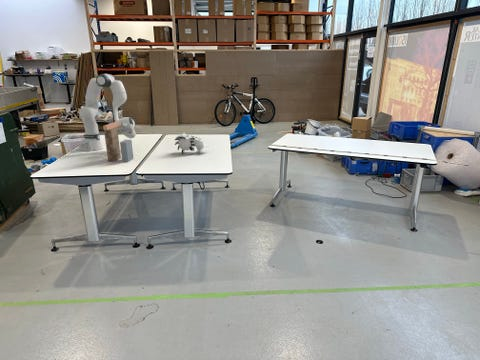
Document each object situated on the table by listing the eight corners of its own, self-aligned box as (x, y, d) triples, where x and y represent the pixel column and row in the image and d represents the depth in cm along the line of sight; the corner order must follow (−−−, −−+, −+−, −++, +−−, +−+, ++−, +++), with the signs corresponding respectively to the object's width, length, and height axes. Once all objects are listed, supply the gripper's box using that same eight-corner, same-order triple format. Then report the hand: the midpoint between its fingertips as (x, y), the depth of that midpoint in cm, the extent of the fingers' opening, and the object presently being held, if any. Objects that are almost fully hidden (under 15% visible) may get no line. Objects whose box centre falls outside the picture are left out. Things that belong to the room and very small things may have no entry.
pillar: (108, 161, 268) (103, 129, 260) (114, 157, 278) (110, 126, 269) (115, 161, 268) (111, 129, 259) (121, 158, 277) (117, 127, 268)
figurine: (208, 157, 289) (173, 154, 285) (208, 153, 304) (174, 149, 301) (210, 139, 284) (174, 135, 280) (210, 135, 299) (176, 131, 295)
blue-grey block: (122, 161, 267) (119, 142, 261) (127, 158, 276) (125, 139, 271) (128, 162, 266) (125, 142, 261) (133, 158, 276) (131, 139, 270)
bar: (103, 130, 257) (103, 126, 256) (117, 125, 277) (116, 121, 276) (107, 130, 256) (106, 126, 255) (120, 125, 277) (120, 121, 276)
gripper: (113, 125, 289) (105, 119, 275) (136, 126, 286) (129, 120, 273) (112, 132, 288) (104, 126, 274) (135, 133, 285) (128, 127, 272)
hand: (116, 123), depth 274 cm, fingers open, 8 cm apart
